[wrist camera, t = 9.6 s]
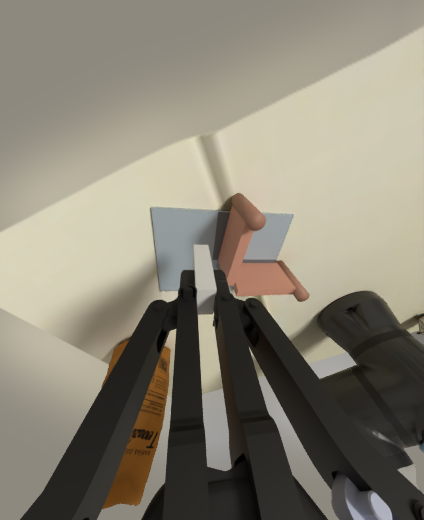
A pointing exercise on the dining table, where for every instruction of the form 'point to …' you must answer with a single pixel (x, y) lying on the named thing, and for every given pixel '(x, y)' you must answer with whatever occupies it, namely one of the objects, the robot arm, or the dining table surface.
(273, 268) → the panel
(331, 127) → the dining table surface
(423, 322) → the game die
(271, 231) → the card
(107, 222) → the dining table surface
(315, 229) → the dining table surface
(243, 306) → the robot arm
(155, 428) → the coffee package
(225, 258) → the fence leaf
